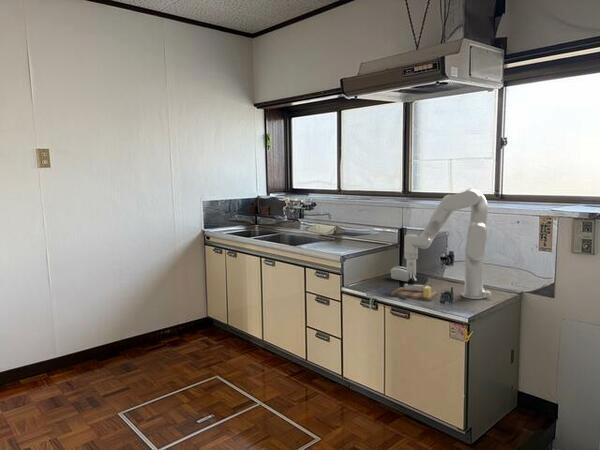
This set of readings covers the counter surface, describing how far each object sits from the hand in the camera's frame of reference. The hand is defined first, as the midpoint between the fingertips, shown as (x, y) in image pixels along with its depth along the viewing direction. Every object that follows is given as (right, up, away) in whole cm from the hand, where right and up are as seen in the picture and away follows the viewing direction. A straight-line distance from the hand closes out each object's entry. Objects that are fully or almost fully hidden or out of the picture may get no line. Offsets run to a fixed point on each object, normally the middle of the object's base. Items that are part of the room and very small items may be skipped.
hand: (410, 286), depth 268 cm
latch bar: (+2, -2, -4) cm, 5 cm away
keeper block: (+6, -4, -14) cm, 16 cm away
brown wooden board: (+1, -4, -6) cm, 7 cm away
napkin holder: (+1, 0, +26) cm, 26 cm away
